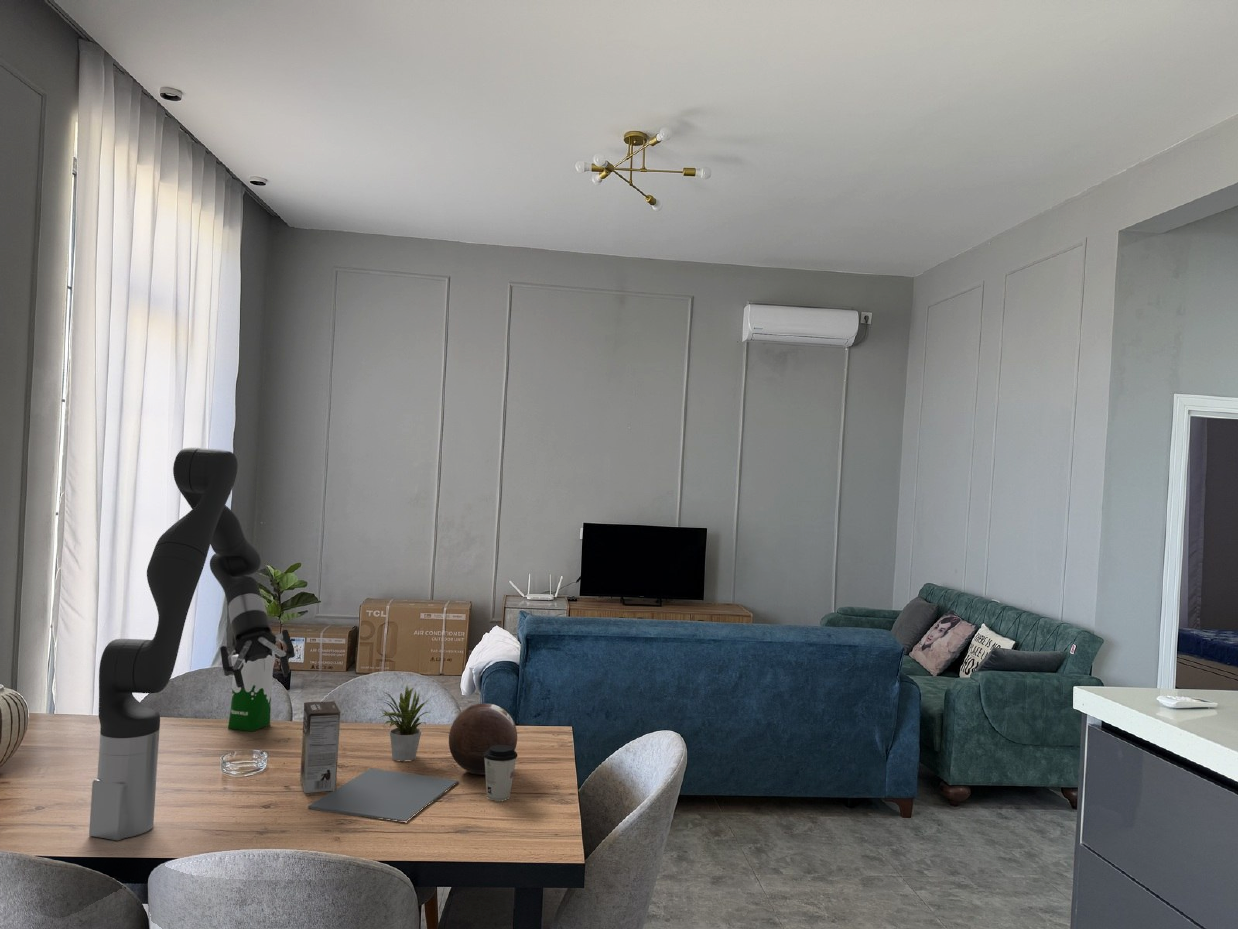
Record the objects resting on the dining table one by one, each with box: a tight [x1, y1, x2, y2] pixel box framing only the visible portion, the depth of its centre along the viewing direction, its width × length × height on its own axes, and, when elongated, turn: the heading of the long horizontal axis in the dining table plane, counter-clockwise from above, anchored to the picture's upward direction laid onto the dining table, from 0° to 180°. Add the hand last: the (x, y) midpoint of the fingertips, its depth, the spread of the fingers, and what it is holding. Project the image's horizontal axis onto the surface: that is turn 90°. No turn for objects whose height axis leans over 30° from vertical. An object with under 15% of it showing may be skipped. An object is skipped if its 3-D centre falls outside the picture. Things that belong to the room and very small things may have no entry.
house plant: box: [376, 685, 433, 761], centre depth 204 cm, size 14×14×16 cm
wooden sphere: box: [448, 702, 518, 775], centre depth 196 cm, size 15×15×15 cm
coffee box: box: [299, 700, 341, 794], centre depth 183 cm, size 9×6×16 cm
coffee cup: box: [484, 745, 518, 802], centre depth 181 cm, size 7×7×10 cm
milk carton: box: [227, 654, 276, 732], centre depth 221 cm, size 9×9×20 cm
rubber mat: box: [307, 767, 459, 821], centre depth 179 cm, size 24×20×1 cm
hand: (264, 681), depth 185 cm, fingers open, 8 cm apart
